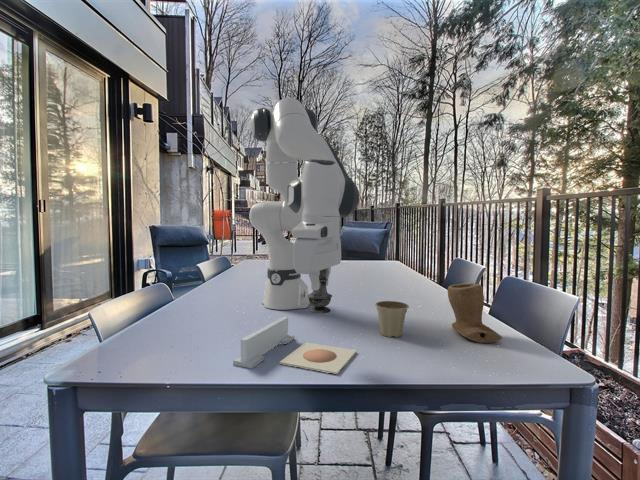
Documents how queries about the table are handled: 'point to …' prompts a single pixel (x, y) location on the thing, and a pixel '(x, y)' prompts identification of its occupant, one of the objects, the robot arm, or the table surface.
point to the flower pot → (391, 317)
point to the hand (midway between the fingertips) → (320, 287)
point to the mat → (319, 357)
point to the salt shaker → (320, 296)
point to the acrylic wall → (262, 343)
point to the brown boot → (470, 312)
